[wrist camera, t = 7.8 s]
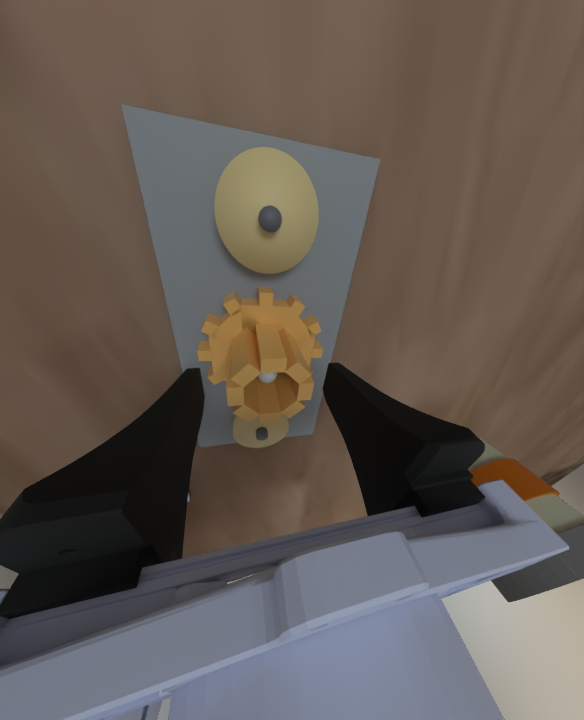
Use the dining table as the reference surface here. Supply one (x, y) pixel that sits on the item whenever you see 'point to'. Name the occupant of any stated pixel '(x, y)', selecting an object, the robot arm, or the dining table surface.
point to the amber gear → (262, 354)
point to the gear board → (248, 241)
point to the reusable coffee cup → (554, 511)
